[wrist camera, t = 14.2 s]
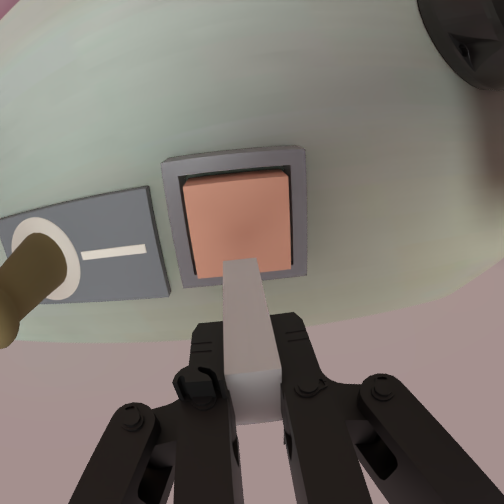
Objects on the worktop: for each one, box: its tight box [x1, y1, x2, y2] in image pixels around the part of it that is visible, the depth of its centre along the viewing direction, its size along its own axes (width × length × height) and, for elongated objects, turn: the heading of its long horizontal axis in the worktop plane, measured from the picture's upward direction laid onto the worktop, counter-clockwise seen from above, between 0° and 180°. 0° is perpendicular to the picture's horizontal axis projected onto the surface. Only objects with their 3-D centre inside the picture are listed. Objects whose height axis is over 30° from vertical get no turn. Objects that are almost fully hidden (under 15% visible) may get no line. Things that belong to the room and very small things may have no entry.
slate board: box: [0, 186, 171, 304], centre depth 23 cm, size 18×10×1 cm, turn 94°
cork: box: [0, 233, 67, 349], centre depth 18 cm, size 6×6×11 cm
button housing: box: [161, 145, 307, 288], centre depth 22 cm, size 10×10×3 cm
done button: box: [183, 169, 291, 279], centre depth 21 cm, size 7×7×3 cm
